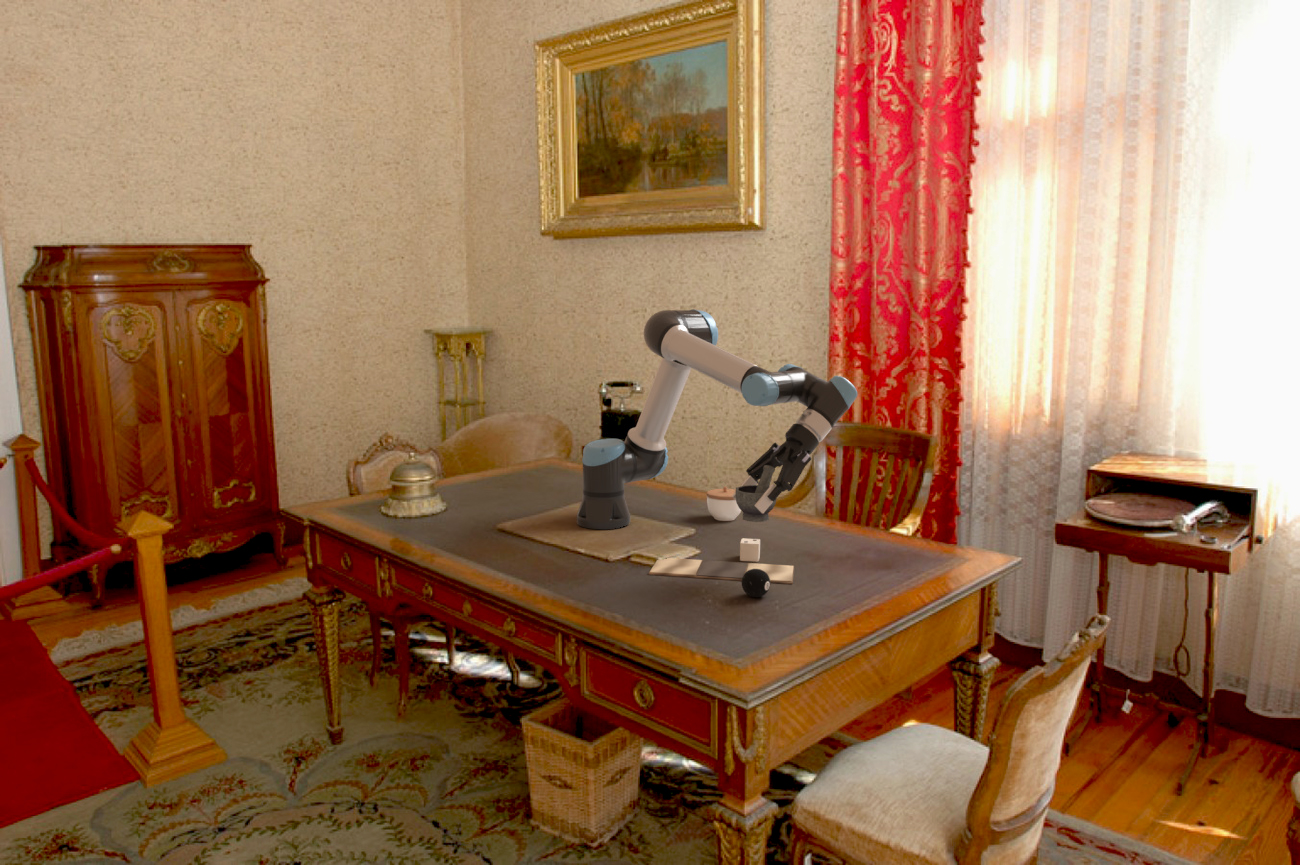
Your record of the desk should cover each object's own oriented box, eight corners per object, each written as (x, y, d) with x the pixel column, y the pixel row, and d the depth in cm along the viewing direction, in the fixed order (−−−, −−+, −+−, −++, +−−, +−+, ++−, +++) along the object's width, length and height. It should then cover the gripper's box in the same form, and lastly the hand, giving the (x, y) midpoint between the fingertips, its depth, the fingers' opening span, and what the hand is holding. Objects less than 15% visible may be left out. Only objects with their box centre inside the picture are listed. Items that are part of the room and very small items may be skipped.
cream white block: (739, 560, 221) (740, 542, 220) (741, 555, 225) (742, 537, 225) (758, 562, 220) (758, 543, 219) (759, 556, 224) (760, 539, 224)
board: (648, 574, 209) (648, 572, 209) (658, 558, 222) (658, 556, 222) (792, 584, 203) (792, 581, 203) (794, 567, 216) (794, 565, 216)
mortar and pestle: (759, 526, 202) (760, 473, 200) (726, 519, 208) (727, 467, 206) (788, 517, 210) (789, 466, 208) (755, 510, 216) (756, 461, 214)
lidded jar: (743, 514, 267) (743, 483, 266) (743, 523, 257) (744, 491, 255) (706, 513, 268) (707, 482, 267) (705, 522, 258) (706, 490, 256)
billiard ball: (751, 589, 199) (752, 563, 198) (774, 595, 195) (775, 569, 194) (736, 596, 194) (736, 569, 193) (759, 602, 191) (760, 575, 190)
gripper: (772, 416, 220) (714, 485, 216) (825, 428, 199) (762, 504, 195) (790, 436, 223) (733, 504, 219) (844, 450, 202) (782, 526, 198)
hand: (747, 504), depth 207 cm, fingers closed on mortar and pestle, 10 cm apart
